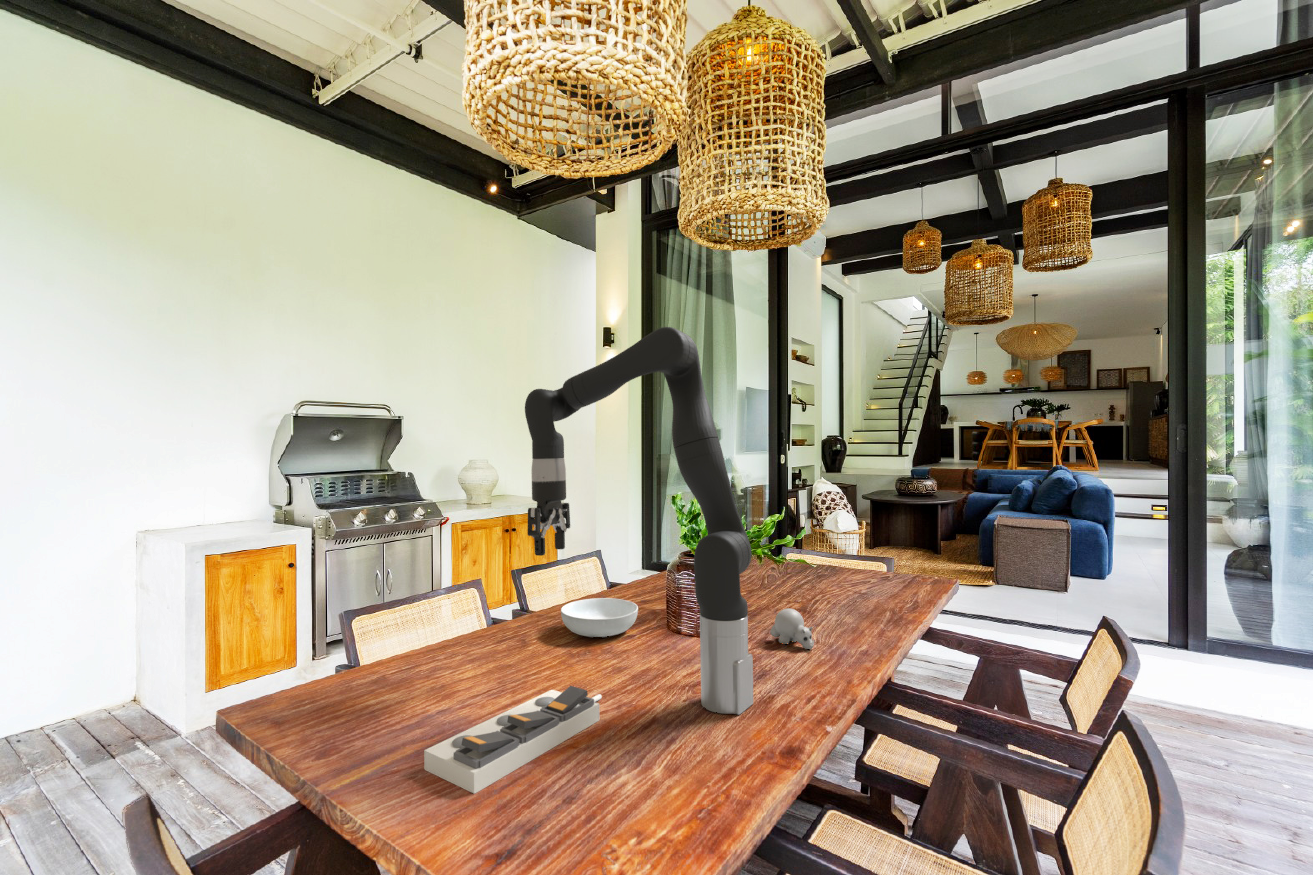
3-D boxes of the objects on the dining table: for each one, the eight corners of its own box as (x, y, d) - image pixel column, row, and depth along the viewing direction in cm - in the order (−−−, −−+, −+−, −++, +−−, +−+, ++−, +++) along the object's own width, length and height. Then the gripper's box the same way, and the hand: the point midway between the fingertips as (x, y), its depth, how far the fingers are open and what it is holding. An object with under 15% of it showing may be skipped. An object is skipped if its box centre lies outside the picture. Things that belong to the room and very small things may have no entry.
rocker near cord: (571, 690, 111) (570, 684, 111) (587, 695, 109) (586, 689, 109) (547, 711, 106) (546, 705, 106) (564, 716, 104) (563, 710, 104)
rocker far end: (493, 738, 96) (495, 731, 97) (510, 745, 94) (512, 737, 94) (461, 744, 91) (462, 737, 92) (478, 752, 89) (480, 744, 89)
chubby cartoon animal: (797, 663, 144) (806, 634, 142) (764, 633, 154) (772, 605, 151) (818, 657, 148) (827, 628, 146) (785, 627, 158) (793, 600, 155)
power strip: (578, 691, 123) (578, 672, 123) (624, 705, 116) (624, 684, 116) (424, 769, 94) (424, 743, 94) (474, 793, 87) (474, 765, 87)
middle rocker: (535, 717, 104) (536, 710, 104) (551, 723, 101) (552, 716, 102) (507, 722, 99) (508, 714, 99) (524, 728, 96) (525, 720, 97)
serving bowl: (566, 649, 150) (565, 621, 150) (557, 625, 170) (556, 601, 170) (646, 640, 155) (646, 614, 155) (628, 618, 175) (628, 595, 175)
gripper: (546, 480, 126) (548, 558, 125) (578, 477, 139) (580, 547, 139) (516, 480, 128) (517, 557, 128) (550, 477, 142) (552, 546, 141)
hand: (550, 552), depth 133 cm, fingers open, 8 cm apart
